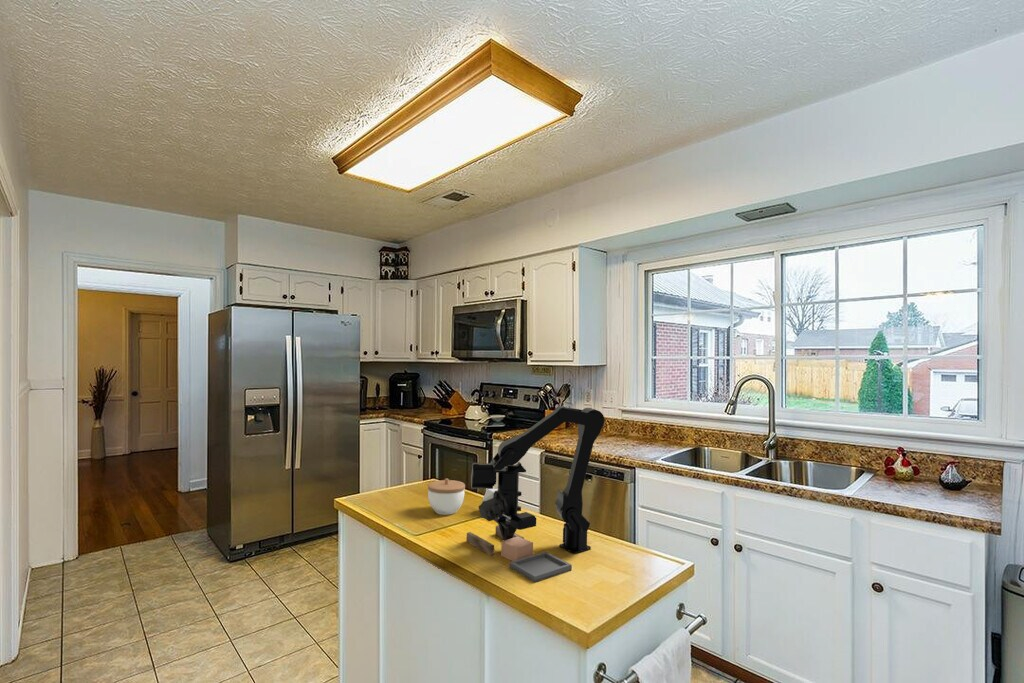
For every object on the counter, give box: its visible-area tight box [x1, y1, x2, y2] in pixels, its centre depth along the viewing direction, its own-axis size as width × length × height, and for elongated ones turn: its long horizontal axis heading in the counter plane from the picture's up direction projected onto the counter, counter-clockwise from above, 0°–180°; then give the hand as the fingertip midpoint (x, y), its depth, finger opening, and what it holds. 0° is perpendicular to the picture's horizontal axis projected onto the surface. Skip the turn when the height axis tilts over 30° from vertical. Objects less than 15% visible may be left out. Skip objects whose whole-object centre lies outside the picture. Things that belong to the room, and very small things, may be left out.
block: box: [500, 536, 534, 562], centre depth 135 cm, size 6×6×4 cm
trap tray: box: [509, 551, 573, 583], centre depth 127 cm, size 10×12×1 cm
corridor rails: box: [466, 524, 525, 556], centre depth 143 cm, size 12×11×2 cm
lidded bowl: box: [427, 478, 466, 516], centre depth 171 cm, size 13×13×11 cm
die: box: [481, 488, 498, 503], centre depth 171 cm, size 8×9×10 cm
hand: (506, 544), depth 139 cm, fingers closed
